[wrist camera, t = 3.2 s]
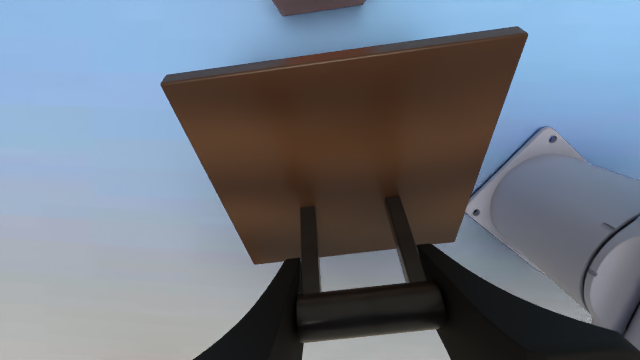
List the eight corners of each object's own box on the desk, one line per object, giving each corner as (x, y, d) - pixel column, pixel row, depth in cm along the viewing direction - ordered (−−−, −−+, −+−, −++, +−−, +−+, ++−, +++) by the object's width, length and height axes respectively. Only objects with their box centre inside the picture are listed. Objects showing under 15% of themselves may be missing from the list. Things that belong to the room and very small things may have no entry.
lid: (165, 73, 10) (58, 233, 6) (518, 25, 10) (719, 153, 5) (255, 254, 18) (241, 381, 14) (450, 232, 18) (505, 355, 13)
